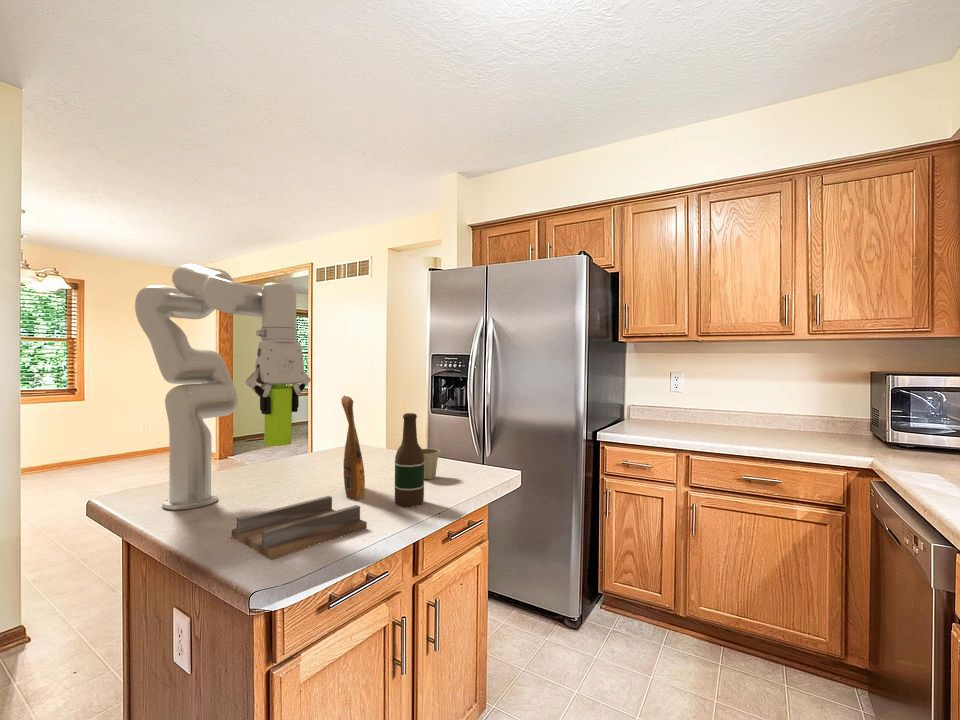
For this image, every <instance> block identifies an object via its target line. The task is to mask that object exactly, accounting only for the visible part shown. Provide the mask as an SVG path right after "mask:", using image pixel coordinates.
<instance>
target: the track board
mask: <svg viewBox="0 0 960 720" xmlns="http://www.w3.org/2000/svg"><path fill="white" fill-rule="evenodd" d="M367 524H368V523H367V520H366V521H365V520H363V519H361V506H359V505H356V504H355V505H352V506H347V507H345V508H342V509H337V510H335V509H333V497H332V496H330V495H328V496H322V497H318V498H314V499H309V500H305V501H301V502H297V503H293V504H289V505H286V506H281V507H277V508H273V509H269V510H266V511H260V512H257V513H253V514H248V515H245V516H241V517H236V528H233V529H231V538H234V539H236V541H239V542H240V543H242V544H244V545H245V546H247V547H249V548H250V549H253V550H255V551H256V552H258V553H259V554H261V555H263V556H265V557H266V558H269V559H270V560H274V559H277V558H281V557H284V556H286V554H287V555H290V554H293V553H295V552H299V551H302V550H305V549H308V548H310V547H309V546H311V547H314V546H317V545H316V544H318V545H320V544H319V543H321V544H323V542H324V543H326V542H325V541H327V542H329V540H330V541H333V540H336V539H339V538H341V536H342V537H344V535H345V536H348V535H351V534H353V532H354V533H357V532H360V531H363V530H362V529H364V530H365V529H366V528H367ZM367 529H368V528H367ZM367 529H366V530H367ZM359 530H360V531H359ZM356 531H357V532H356ZM350 533H351V534H350ZM347 534H348V535H347ZM338 537H339V538H338ZM335 538H336V539H335ZM332 539H333V540H332ZM313 545H314V546H313ZM307 547H308V548H307ZM304 548H305V549H304ZM301 549H302V550H301ZM298 550H299V551H298ZM289 553H290V554H289Z"/></svg>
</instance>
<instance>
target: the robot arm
mask: <svg viewBox="0 0 960 720" xmlns="http://www.w3.org/2000/svg"><path fill="white" fill-rule="evenodd" d="M171 281H172V283H173V286H170V285H169V286H168V285H160V284H159V285H149V286H144V287H142V288H141V289H140V290H139V291H138V292H137V294H136V297H135V302H134V310H135V311H134V312H135V316H136V319H137V321H138V323H139V325H140V328H141V329H142V331H143V332H144V334H145V335H146V337H147V339H148V341H149V343H150V345H151V347H152V351H153V354H154V357H155V360H156V363H157V366H158V369H159V371H160V374H161V377H162V378H163V380H164V381H166V382H167V383H169V384H173V385H175V384H178V385H176V386H174V387H173V388H171V389H170V390H169V391H167V393H166V395H165V399H164V406H165V410H166V411H165V412H166V415H167V420H168V421H167V422H168V433H169V438H168V439H169V441H168V442H169V464H168V465H169V470H168V471H169V479H168V481H169V483H168V485H169V489H168V492H169V495H168V498H165V499H164V500H163V501H162V502H161V507H162V508H163V509H166V510H172V511H173V510H176V511H177V510H189V509H197V508H201V507H206V506H208V505H212V504H214V503H215V502H217V501H218V499H219V498H218V497H219V496H218V494H217V493H215V492H212V433H211V431H210V429H209V427H208V426H207V424H206V423H205V421H204V420H205V419H211V418H219V417H220V418H221V417H226V416H229V415H231V414H233V413H234V412H235V410H236V409H237V406H238V399H239V398H238V394H237V391H236V387H235V384H234V382H233V379H232V377H231V374H230V371H229V369H228V367H227V364H226V361H225V359H224V358H223V356H222V355H220V354H219V353H218V352H217V351H214V350H210V349H196V348H193V347H192V346H191V345H190V343H189V340H188V337H187V335H186V333H185V332H184V330H183V329H182V327H180V326H179V325H178V324H176V323H175V322H174V321H173V320H172V319H171V318H174V319H185V320H187V319H188V320H202V319H205V318H206V317H208V316H209V315H211V314H212V313H213V312H214V311H215V310H216V311H220V312H223V313H226V314H230V315H237V316H246V317H247V316H248V317H257V318H261V328H260V330H256V332H255V335H256V336H257V337H260V340H261V341H259V343H258V346H257V350H256V357H255V367H254V368H255V369H254V371H253V372H252V373H251V374H250V375H249V376H248V378H246V380H245V384H246V385H247V386H248V387H249V388H250V389H252V391H254V393H255V394H256V395H257V396H258V397H259V409H260V412H261V414H262V415H265V414H266V415H268V414H271V398H270V397H268V394H269V392H270V389H271V386H272V385H275V384H287V387H289V388H292V413H297V412H298V408H299V405H300V403H299V402H300V401H299V396H300V395H301V393H302V392H303V390H304V389H305V388H306V386H308V384H309V383H310V382H311V380H312V379H311V377H309V375H308V374H307V373H306V372H305V364H304V355H303V349H302V345H301V342H297V289H296V287H295V286H293V285H292V284H289V283H283V282H269V283H268V282H267V283H265V284H263V285H262V286H261V285H256V284H250V283H245V282H244V283H243V282H237V281H234V280H233V278H232V276H231V274H230V273H228V272H227V271H225V270H223V269H220V268H216V267H215V268H214V267H211V266H210V267H209V266H206V265H199V264H193V263H189V264H183V265H180V266H178V267H177V268H176V269H175V270H174V271H173V272H172V276H171ZM289 360H291V361H296V362H292V363H289ZM258 384H260V385H258Z"/></svg>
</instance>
